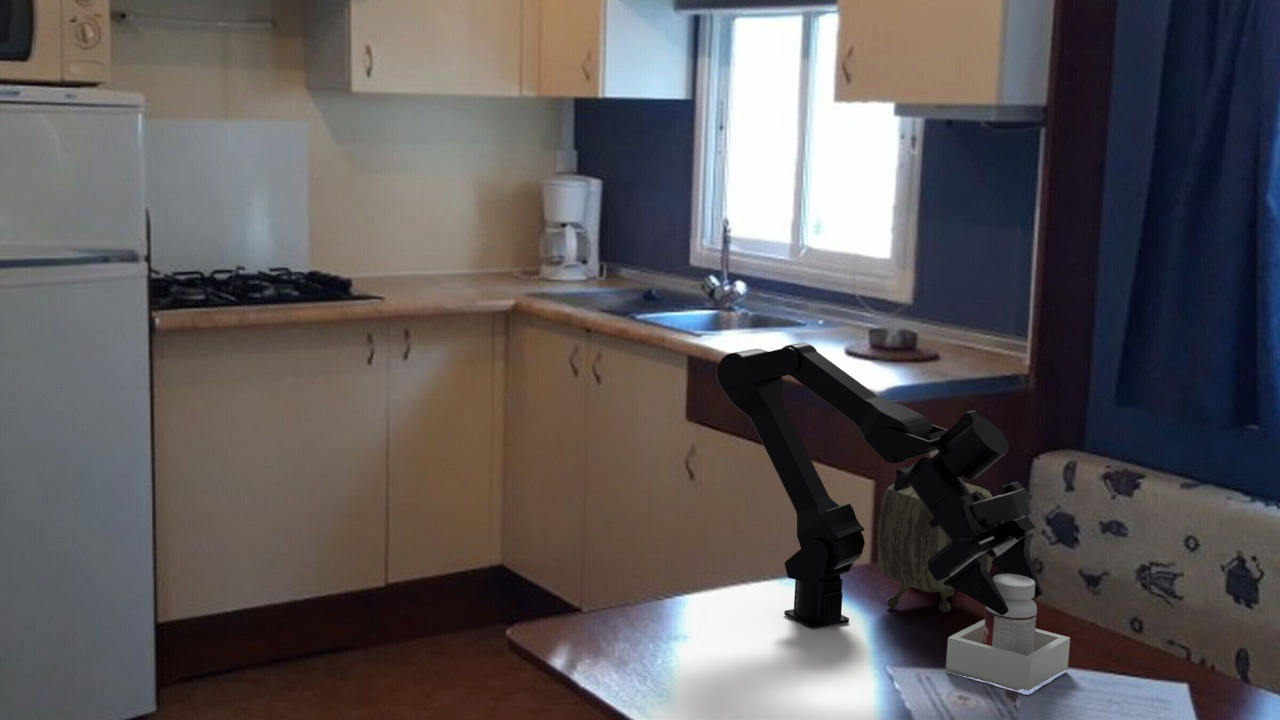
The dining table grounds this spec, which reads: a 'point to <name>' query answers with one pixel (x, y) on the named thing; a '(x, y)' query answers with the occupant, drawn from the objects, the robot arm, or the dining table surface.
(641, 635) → the dining table surface
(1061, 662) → the sage open tray box
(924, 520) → the tabletop clock
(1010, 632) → the pill bottle
